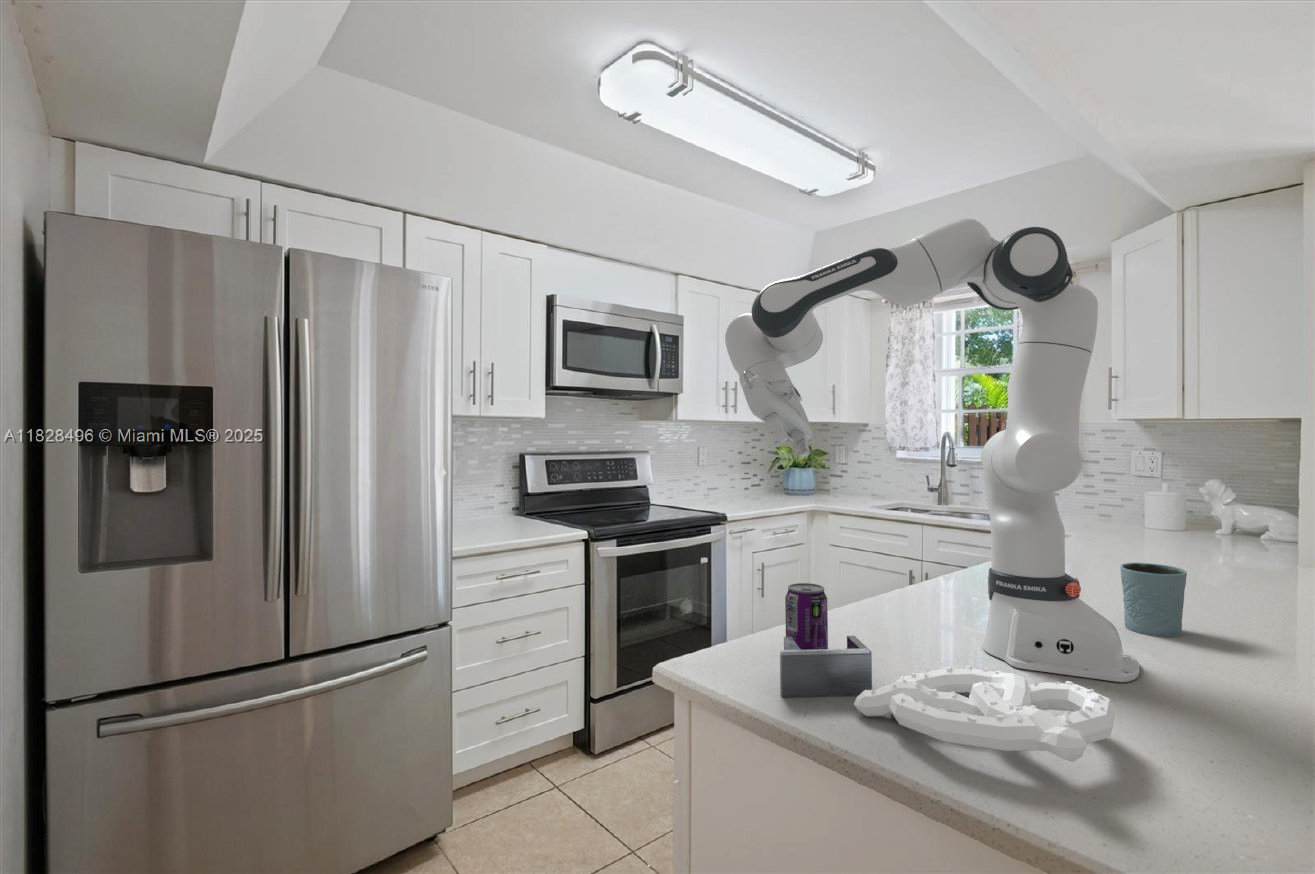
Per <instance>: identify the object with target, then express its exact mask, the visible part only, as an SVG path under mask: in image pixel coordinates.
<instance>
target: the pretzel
mask: <svg viewBox="0 0 1315 874" xmlns="http://www.w3.org/2000/svg"><path fill="white" fill-rule="evenodd" d="M961 694H962V695H961ZM963 694H969V695H968V697H967V696H964V695H963ZM853 705H854V706H855V708H856V709H857V711H859V713H861V714H862V715H864V716H865V717H867V718H869V717H888V716H890V715H892V716H893V718H895V720H896V721H897V723H898V724H899V725H900V726H903V727H905V728H908V729H911V730H913V731H916V732H918V733H921V734H924V735H926V736H929V737H931V738H934V739H937V740H940V741H943V742H945V743H951V744H957V745H962V746H963V745H964V746H970V747H976V748H977V747H978V748H983V749H990V750H995V751H996V750H997V751H1006V752H1009V751H1011V752H1015V751H1017V752H1018V751H1047V752H1049V753H1051V754H1053V755H1054V756H1056V757H1058V758H1061V759H1062V760H1064V761H1068V762H1071V763H1074V762H1076V761H1077V760H1079V759H1080V758H1082V757H1083V755H1084V752H1085V751H1086V749H1087V747H1088V746H1087V745H1088V744H1092V743H1094V742H1099V741H1101V740H1105V739H1108V738H1110V737H1111V734H1112V731H1113V729H1114V725H1115V724H1114V723H1115V718H1116V711H1117V708H1115V705H1114V704H1113V703H1112V701H1111V699H1110V698H1108V697H1107V696H1104V695H1102V694H1099V693H1098V692H1095V689H1093V688H1090V689H1089V688H1086V687H1084V686H1081V685H1080V684H1076V683H1074V682H1073V681H1070V680H1066V681H1065V682H1063V683H1062V682H1060V681H1059V680H1058V681H1057V680H1055V682H1047V681H1045V682H1039V683H1038V682H1032V683H1031V684H1029V683H1028V681H1027V679H1026V677H1023V676H1021V675H1018V674H1016V673H1011V672H1003V671H1000V670H995V671H991V670H989V668H988V667H984V668H983V667H982V668H981V669H978V668H972V666H970V665H965V666H964V668H952V666H948V667H945V668H940V669H934V670H930V669H928V668H924V671H923V672H919V673H916V672H915V673H914V672H913V673H910V674H909V675H905V676H904V675H902V676H900V678H898V680H896V681H895V682H893V683H889V684H885V685H884V684H883V686H882V687H878V688H875V689H873V688H872V689H871V690H864V691H863V692H862V693H861V694H860V695H859V696H856V698H855V701H854V702H853ZM1050 710H1052V711H1060V712H1061V711H1063V712H1062V715H1058V716H1054V715H1053V714H1052V713H1051V712H1049V711H1050Z"/></svg>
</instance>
